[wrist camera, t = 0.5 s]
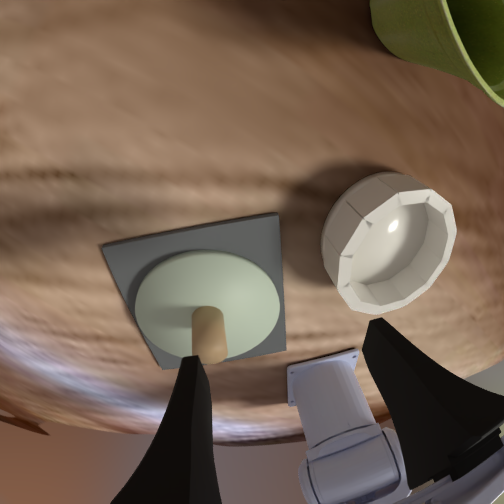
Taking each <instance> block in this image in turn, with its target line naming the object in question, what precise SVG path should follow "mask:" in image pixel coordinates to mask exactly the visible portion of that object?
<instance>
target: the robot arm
mask: <svg viewBox="0 0 504 504" xmlns="http://www.w3.org/2000/svg"><path fill="white" fill-rule="evenodd" d="M362 352H363V355H364V358H365V361H366V364H367V366H368V369H369V371H370V373H371V375H372V377H373V379H374V381H375V383H376V385H377V387H378V389H379V391H380V393H381V395H382V397H383V399H384V401H385V404H386V406H387V408H388V410H389V412H390V415H391V417H392V420H393V423H394V426H395V429H396V432H395V431H394V430H393V429H389V428H388V427H385V428H383V429H382V430H381V428H380V426H379V423H376V422H375V420H374V417H373V415H372V413H371V410H370V408H369V406H368V403H367V401H366V399H365V396H364V394H363V392H362V389H361V387H360V385H359V382H358V380H357V378H356V376H355V373H354V369H355V366H356V362H357V358H358V355H359V350H358V349H352V350H349V351H345V352H342V353H338V354H334V355H331V356H327V357H323V358H319V359H315V360H311V361H307V362H303V363H298V364H294V365H290V366H288V367H287V389H288V406H290V407H292V406H296V405H297V409H298V412H299V416H300V419H301V423H302V426H303V430H304V433H305V437H306V440H307V444H308V447H309V450H307V451H306V455H307V458H306V459H303V460H302V462H301V464H300V466H299V470H298V472H299V473H298V474H299V481H300V484H301V489H302V492H303V495H304V497H305V499H306V501H307V503H308V504H421V503H423V502H425V501H426V502H425V504H492V503H493V502H494V501H495V500H496V499H497V498H498V497H499V496H500V495H501V494H502V493H503V492H504V436H502V437H501V438H500V437H499V434H500V433H501V430H500V428H499V427H500V426H501V425H502V424H503V423H504V396H502V395H499V394H496V393H493V392H490V391H487V390H485V389H482V388H480V387H478V386H475V385H473V384H471V383H469V382H467V381H465V380H464V379H462V378H460V377H458V376H456V375H455V374H453V373H451V372H450V371H448V370H447V369H445V368H443V367H442V366H440V365H439V364H438V363H436V362H435V361H433V360H432V359H431V358H429V357H428V356H427V355H426V354H424V353H423V352H422V351H421V350H419V349H418V348H417V347H416V346H415V345H413V344H412V343H411V342H410V341H409V340H407V339H406V338H405V337H404V336H403V335H402V334H400V333H399V332H398V331H397V330H396V329H395V328H394V327H393V326H391V325H390V324H389V323H388V322H387V321H386V320H384V319H383V318H382V317H381V318H377V319H374V320H370V321H369V325H368V329H367V333H366V337H365V340H364V344H363V347H362ZM396 433H397V434H396ZM431 479H433V480H434V482H435V483H433V484H432V485H430V486H428V487H426V488H424V489H422V490H421V491H418V492H416V493H414V494H412V495H410V496H409V494H410V493H411V491H412V489H414V488H416V487H418V486H420V485H422V484H424V483H426V482H427V481H430V480H431ZM110 504H222V502H221V497H220V493H219V487H218V482H217V476H216V470H215V463H214V456H213V435H212V402H211V394H210V386H209V380H208V378H207V376H206V373H205V371H204V368H203V366H202V363H201V361H200V358H199V355H194V356H186V357H183V358H182V360H181V364H180V368H179V372H178V376H177V379H176V383H175V386H174V389H173V392H172V395H171V398H170V401H169V404H168V407H167V409H166V412H165V414H164V417H163V419H162V421H161V424H160V426H159V428H158V431H157V433H156V435H155V437H154V439H153V441H152V443H151V445H150V447H149V449H148V450H147V452H146V454H145V456H144V457H143V459H142V461H141V462H140V464H139V466H138V467H137V469H136V470H135V472H134V473H133V474H132V476H131V477H130V479H129V480H128V482H127V483H126V484H125V486H124V487H123V488H122V489H121V491H120V492H119V493H118V494H117V496H116V497H115V498H114V499H113V500H112V501H111V503H110Z"/></svg>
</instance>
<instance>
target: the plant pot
mask: <svg viewBox="0 0 504 504" xmlns="http://www.w3.org/2000/svg"><path fill="white" fill-rule="evenodd" d="M370 9H371V17H372V26H373V28H374V31H375V33H376V34H377V36H378V38H379V39H380V41H381V42H382V43H383V45H384V46H385V47H386V48H387V49H388V50H389V51H390V52H392V53H393V54H394V55H396V56H397V57H399V58H401V59H403V60H405V61H408V62H411V63H415V64H419V65H423V66H426V67H430V68H434V69H437V70H440V71H443V72H446V73H449V74H452V75H455V76H457V77H460V78H463V79H465V80H468V81H469V82H470V83H471V84H473V85H474V86H476V87H477V88H479V89H481V90H482V91H483V92H484V93H485V94H486V95H487V96H488V97H489V98H490V99H491V100H492V101H494V102H495V103H497V104H498V105H500V106H502V107H504V0H370Z"/></svg>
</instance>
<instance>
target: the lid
mask: <svg viewBox="0 0 504 504" xmlns="http://www.w3.org/2000/svg"><path fill="white" fill-rule="evenodd" d="M279 312H280V302H279V297H278V294H277V291H276V288H275V285H274V283H273V281H272V280H271V278H270V277H269V275H268V274H267V273H266V272H265V271H264V270H263V269H262V268H261V267H260V266H259V265H257V264H256V263H254V262H253V261H251V260H249V259H247V258H245V257H243V256H240V255H238V254H235V253H231V252H226V251H221V250H195V251H189V252H184V253H180V254H178V255H175V256H172V257H170V258H168V259H166V260H164V261H162V262H161V263H159V264H158V265H156V266H155V267H154V268H153V269H152V270H151V271H150V272H149V273H148V274H147V275H146V276H145V278H144V279H143V281H142V283H141V284H140V286H139V289H138V293H137V297H136V302H135V315H136V319H137V322H138V325H139V327H140V329H141V330H142V332H143V334H144V335H145V336H146V337H147V338H148V339H149V340H150V341H151V342H152V343H153V344H154V345H156V346H157V347H159V348H160V349H162V350H164V351H166V352H168V353H170V354H172V355H175V356H178V357H181V358H183V357H186V356H194V355H199V358H200V361H201V363H203V364H216V363H219V362H221V361H223V360H224V359H226V358H230V357H234V356H237V355H240V354H242V353H245V352H247V351H249V350H251V349H252V348H254V347H255V346H257V345H258V344H260V343H261V342H262V341H263V340H264V339H265V338H266V337H267V336H268V335H269V334H270V333H271V331H272V330H273V328H274V326H275V325H276V322H277V320H278V317H279Z"/></svg>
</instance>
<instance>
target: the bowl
mask: <svg viewBox="0 0 504 504" xmlns="http://www.w3.org/2000/svg"><path fill="white" fill-rule="evenodd" d="M456 231H457V230H456V224H455V219H454V214H453V210H452V205H451V204H450V203H449V202H447V201H446V200H445V199H444V198H442V197H441V196H440V195H438V194H437V193H436V192H434V191H433V190H432V189H430V188H429V187H427V186H426V185H424V184H423V183H421V182H419V181H418V180H416V179H415V178H413V177H411V176H410V175H405V174H402V173H398V172H380V173H376V174H372V175H369V176H367V177H365V178H363V179H361V180H359V181H358V182H356V183H355V184H353V185H352V186H351V187H350V188H348V189H347V190H346V191H345V192H344V193H343V194H342V195H341V196H340V197H339V199H338V200H337V201H336V202H335V204H334V205H333V207H332V209H331V210H330V212H329V214H328V216H327V218H326V220H325V223H324V226H323V229H322V234H321V242H320V246H321V255H322V259H323V261H324V268H325V269H326V271H327V273H328V275H329V276H330V278H331V280H332V282H333V283H334V285H335V287H336V289H337V290H338V292H339V293H340V294H341V296H342V297H343V299H344V300H345V301H346V303H347V304H348V306H349V307H350V308H351V310H354V311H359V312H364V313H368V314H373V315H376V314H377V315H378V314H382V313H385V312H388V311H392V310H395V309H398V308H402V307H404V306H406V305H407V304H409V303H410V302H411V301H413V300H414V299H415V298H417V297H418V296H419V295H421V294H422V293H423V292H425V291H426V290H427V289H429V287H431V285H432V284H433V283H434V281H435V280H436V278H437V277H438V276H439V274H440V273H441V271H442V270H443V268H444V267H445V266H446V264H447V263H448V261H449V258H450V255H451V251H452V248H453V244H454V240H455V237H456V233H457V232H456Z"/></svg>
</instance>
